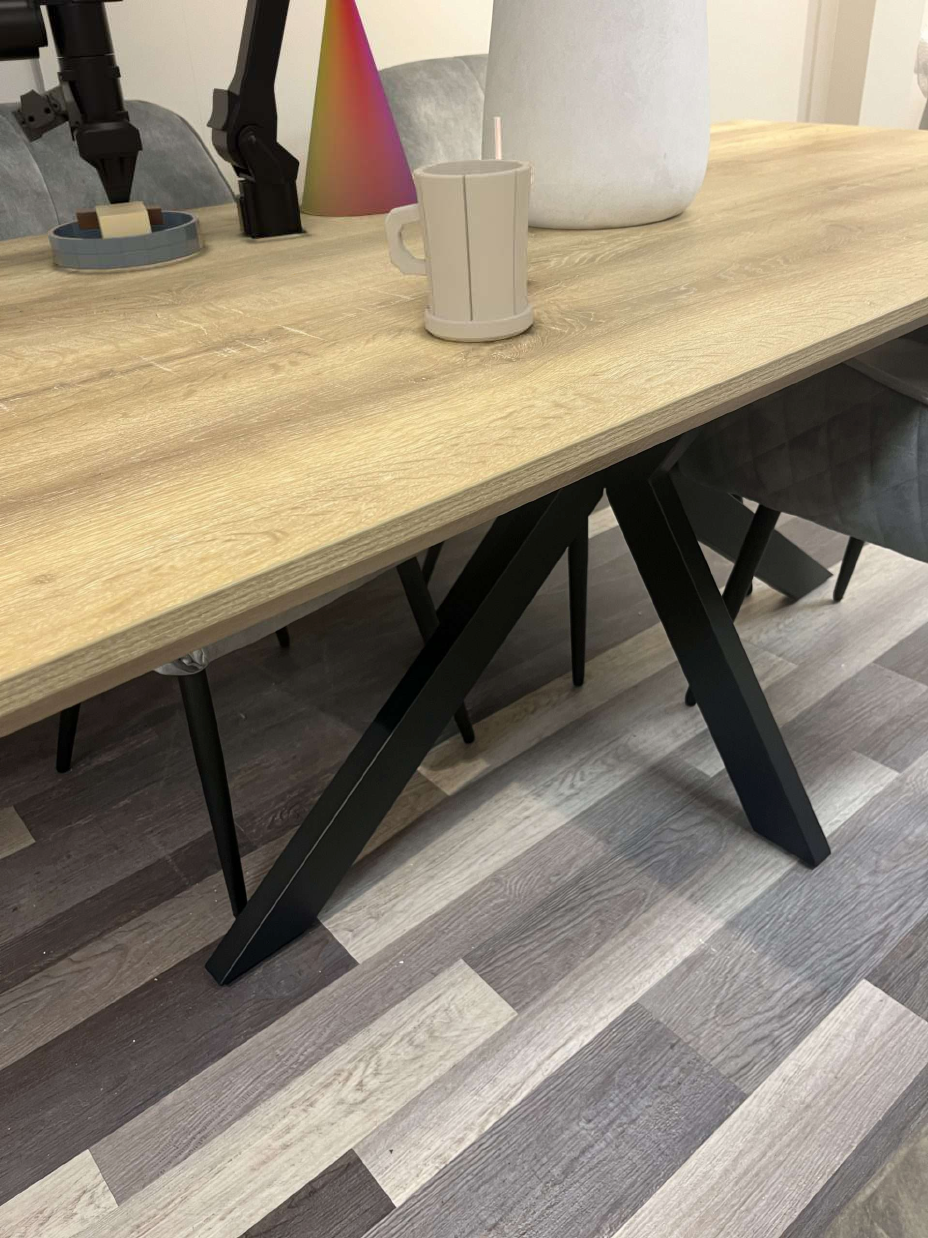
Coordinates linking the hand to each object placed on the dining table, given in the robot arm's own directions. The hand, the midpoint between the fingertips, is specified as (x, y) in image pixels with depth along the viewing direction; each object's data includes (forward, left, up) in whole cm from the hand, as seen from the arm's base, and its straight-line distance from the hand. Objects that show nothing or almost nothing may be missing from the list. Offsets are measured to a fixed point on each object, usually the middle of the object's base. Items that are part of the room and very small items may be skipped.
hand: (120, 216), depth 110 cm
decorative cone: (-32, -15, -4) cm, 36 cm away
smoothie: (-30, +37, -4) cm, 48 cm away
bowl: (0, +1, -4) cm, 4 cm away
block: (0, +4, -4) cm, 5 cm away
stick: (0, 0, -1) cm, 1 cm away
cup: (-22, +49, -4) cm, 54 cm away
